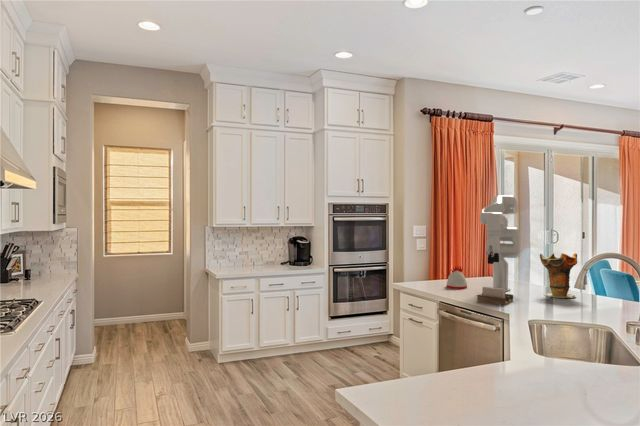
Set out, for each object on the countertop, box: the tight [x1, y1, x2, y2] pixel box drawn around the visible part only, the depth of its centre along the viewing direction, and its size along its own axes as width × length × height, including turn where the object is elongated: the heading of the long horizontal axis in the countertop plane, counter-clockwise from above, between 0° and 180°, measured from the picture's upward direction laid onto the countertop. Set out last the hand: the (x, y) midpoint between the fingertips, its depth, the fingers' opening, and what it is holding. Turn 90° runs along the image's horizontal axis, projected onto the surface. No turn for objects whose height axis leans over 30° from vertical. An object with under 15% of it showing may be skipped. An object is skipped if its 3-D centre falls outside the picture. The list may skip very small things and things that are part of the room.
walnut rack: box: [476, 292, 514, 306], centre depth 267 cm, size 15×16×4 cm
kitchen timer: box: [446, 265, 468, 290], centre depth 316 cm, size 14×14×15 cm
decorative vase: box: [539, 252, 578, 299], centre depth 285 cm, size 21×23×28 cm
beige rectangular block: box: [481, 286, 506, 298], centre depth 264 cm, size 3×12×7 cm, turn 50°
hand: (493, 262), depth 264 cm, fingers open, 9 cm apart
